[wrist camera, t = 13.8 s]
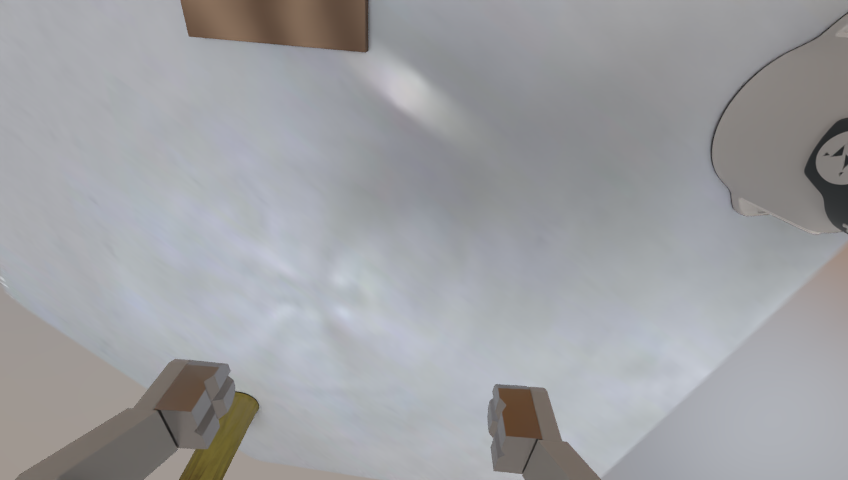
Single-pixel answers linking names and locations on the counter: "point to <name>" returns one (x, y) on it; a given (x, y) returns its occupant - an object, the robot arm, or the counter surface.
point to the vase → (223, 441)
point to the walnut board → (281, 22)
